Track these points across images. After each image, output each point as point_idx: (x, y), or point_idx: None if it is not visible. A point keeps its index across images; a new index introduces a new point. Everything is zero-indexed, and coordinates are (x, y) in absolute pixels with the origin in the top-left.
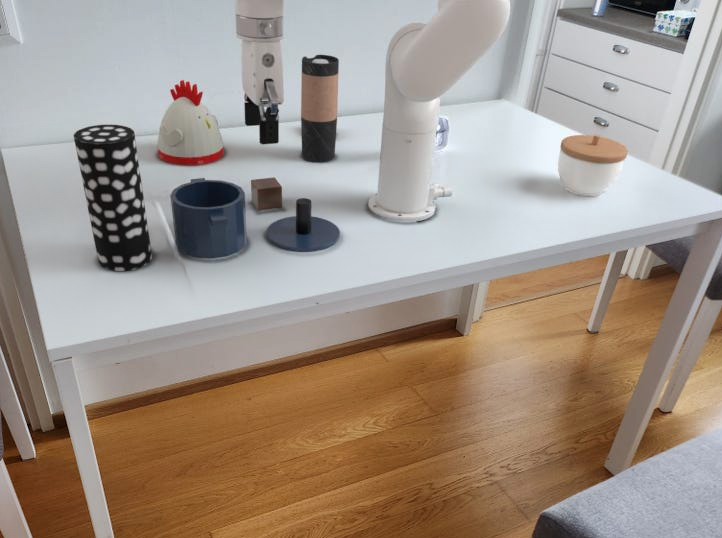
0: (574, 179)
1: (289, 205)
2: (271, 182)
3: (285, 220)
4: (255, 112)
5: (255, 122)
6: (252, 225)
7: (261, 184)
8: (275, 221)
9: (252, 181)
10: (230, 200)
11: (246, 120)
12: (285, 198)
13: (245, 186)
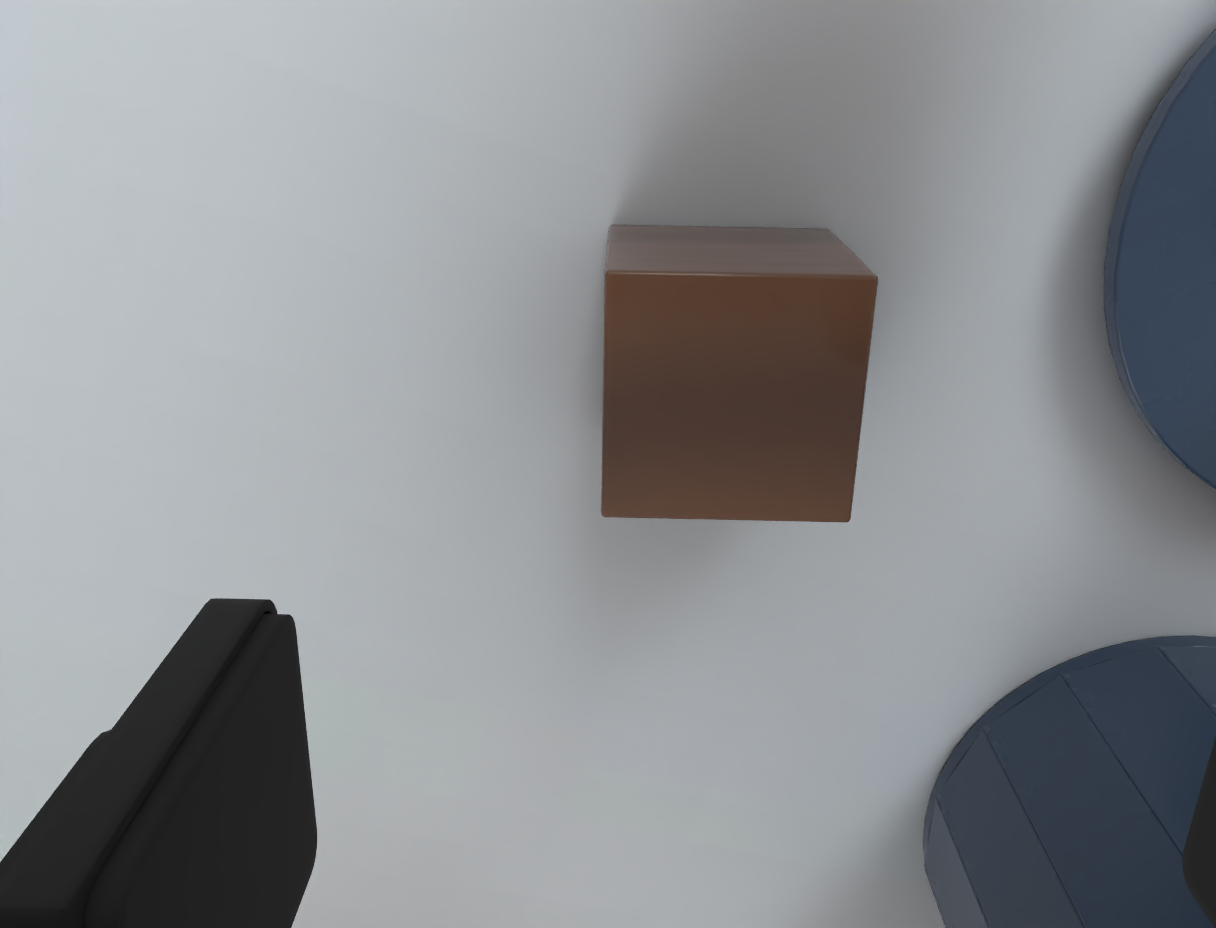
0: None
1: (752, 128)
2: (735, 347)
3: (1166, 318)
4: (224, 887)
5: (294, 753)
6: (994, 530)
7: (750, 456)
8: (1144, 402)
9: (646, 513)
10: None
11: (288, 921)
12: (590, 113)
13: (242, 383)
